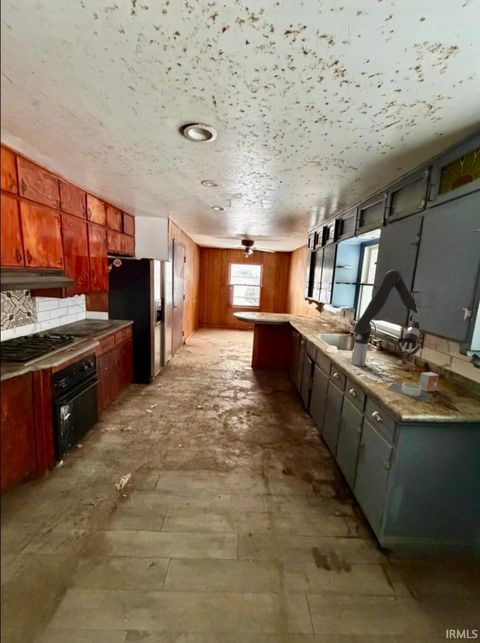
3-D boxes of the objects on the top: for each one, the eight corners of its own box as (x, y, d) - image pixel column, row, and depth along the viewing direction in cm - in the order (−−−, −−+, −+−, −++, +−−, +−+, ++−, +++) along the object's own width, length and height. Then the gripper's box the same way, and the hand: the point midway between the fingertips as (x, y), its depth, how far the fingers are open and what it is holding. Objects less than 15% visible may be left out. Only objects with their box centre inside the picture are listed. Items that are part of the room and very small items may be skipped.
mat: (386, 390, 176) (386, 389, 176) (392, 384, 187) (392, 383, 186) (428, 402, 162) (428, 402, 162) (432, 395, 172) (432, 394, 172)
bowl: (399, 392, 172) (400, 385, 171) (403, 388, 180) (404, 380, 179) (418, 398, 166) (419, 390, 165) (421, 393, 173) (423, 385, 172)
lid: (391, 364, 184) (392, 352, 182) (396, 360, 193) (397, 348, 191) (412, 369, 176) (414, 356, 175) (416, 364, 185) (418, 352, 184)
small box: (425, 392, 176) (428, 375, 174) (418, 388, 182) (420, 372, 180) (436, 391, 179) (439, 375, 176) (428, 387, 184) (431, 371, 182)
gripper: (399, 330, 191) (391, 352, 184) (423, 334, 182) (416, 357, 175) (400, 337, 196) (392, 358, 189) (424, 341, 187) (417, 364, 180)
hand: (404, 358), depth 182 cm, fingers closed on lid, 2 cm apart
